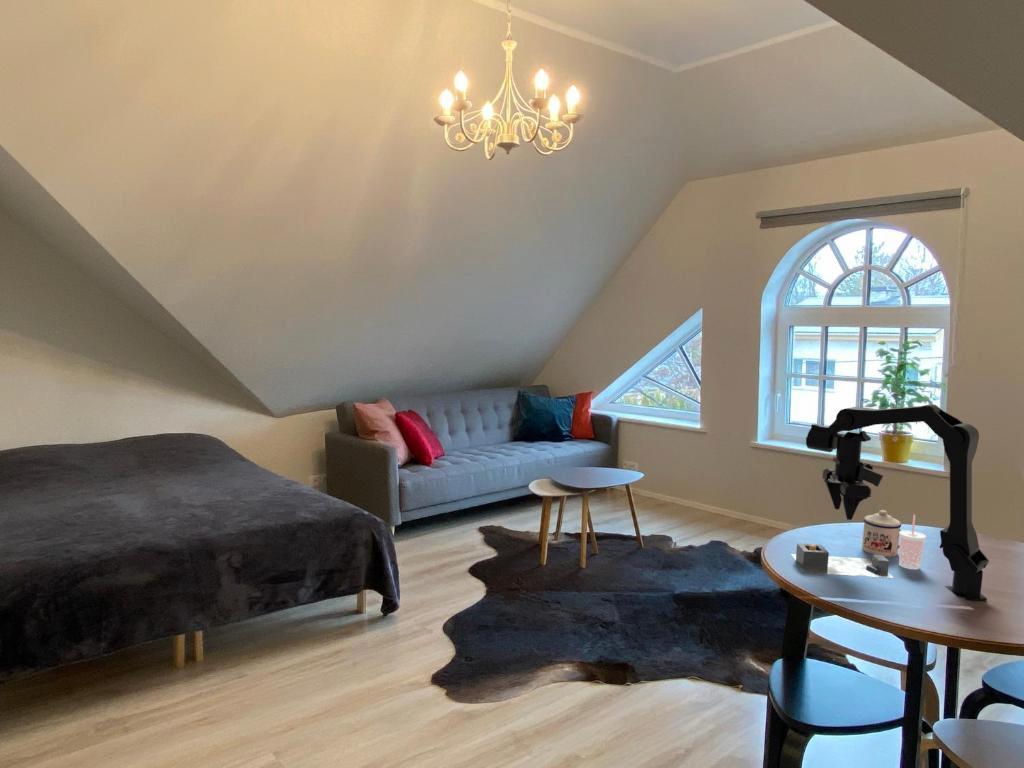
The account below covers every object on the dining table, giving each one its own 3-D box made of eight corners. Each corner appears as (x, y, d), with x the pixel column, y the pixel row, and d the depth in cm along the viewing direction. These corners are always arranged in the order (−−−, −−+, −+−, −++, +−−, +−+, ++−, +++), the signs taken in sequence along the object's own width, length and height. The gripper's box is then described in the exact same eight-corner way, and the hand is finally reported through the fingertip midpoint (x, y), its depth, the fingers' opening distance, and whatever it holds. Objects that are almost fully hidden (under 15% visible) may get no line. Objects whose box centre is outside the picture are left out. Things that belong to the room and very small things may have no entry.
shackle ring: (827, 570, 185) (828, 552, 185) (802, 568, 186) (804, 551, 185) (819, 561, 191) (821, 544, 191) (795, 560, 192) (797, 543, 191)
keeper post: (815, 566, 188) (817, 547, 187) (808, 566, 188) (810, 547, 187) (813, 564, 189) (815, 545, 189) (807, 563, 189) (808, 544, 189)
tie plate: (893, 580, 182) (895, 566, 181) (805, 574, 184) (806, 560, 183) (873, 561, 194) (874, 547, 194) (790, 556, 196) (791, 543, 196)
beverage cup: (926, 573, 187) (931, 519, 185) (899, 571, 188) (905, 517, 186) (918, 565, 193) (923, 512, 191) (892, 562, 194) (897, 510, 192)
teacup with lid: (857, 553, 200) (861, 511, 199) (864, 544, 208) (868, 504, 206) (907, 564, 193) (911, 520, 192) (913, 554, 201) (917, 512, 199)
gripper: (895, 465, 182) (889, 527, 184) (866, 449, 201) (861, 505, 203) (848, 463, 183) (843, 524, 185) (824, 447, 202) (819, 503, 204)
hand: (842, 514), depth 194 cm, fingers open, 9 cm apart
